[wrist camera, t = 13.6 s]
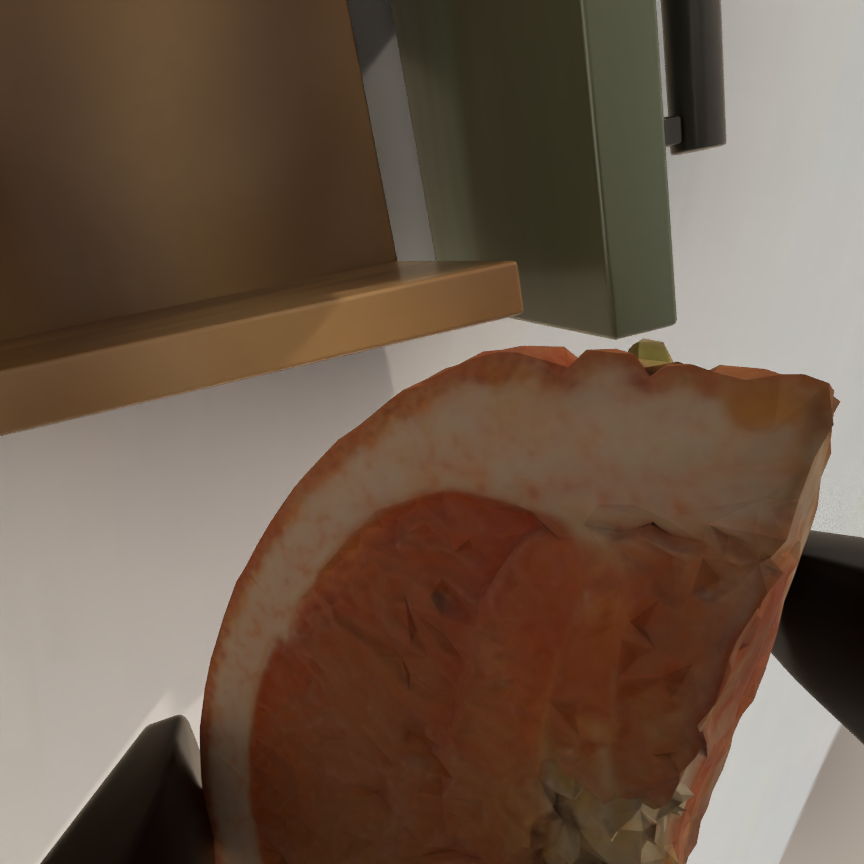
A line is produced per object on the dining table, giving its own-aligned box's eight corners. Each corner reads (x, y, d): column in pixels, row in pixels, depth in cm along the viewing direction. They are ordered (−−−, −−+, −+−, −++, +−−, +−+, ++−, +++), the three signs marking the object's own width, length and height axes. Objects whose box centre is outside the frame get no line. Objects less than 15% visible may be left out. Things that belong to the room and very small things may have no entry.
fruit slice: (294, 246, 7) (386, 239, 3) (738, 375, 10) (1191, 488, 5) (158, 844, 9) (76, 1469, 4) (569, 836, 11) (799, 1243, 7)
